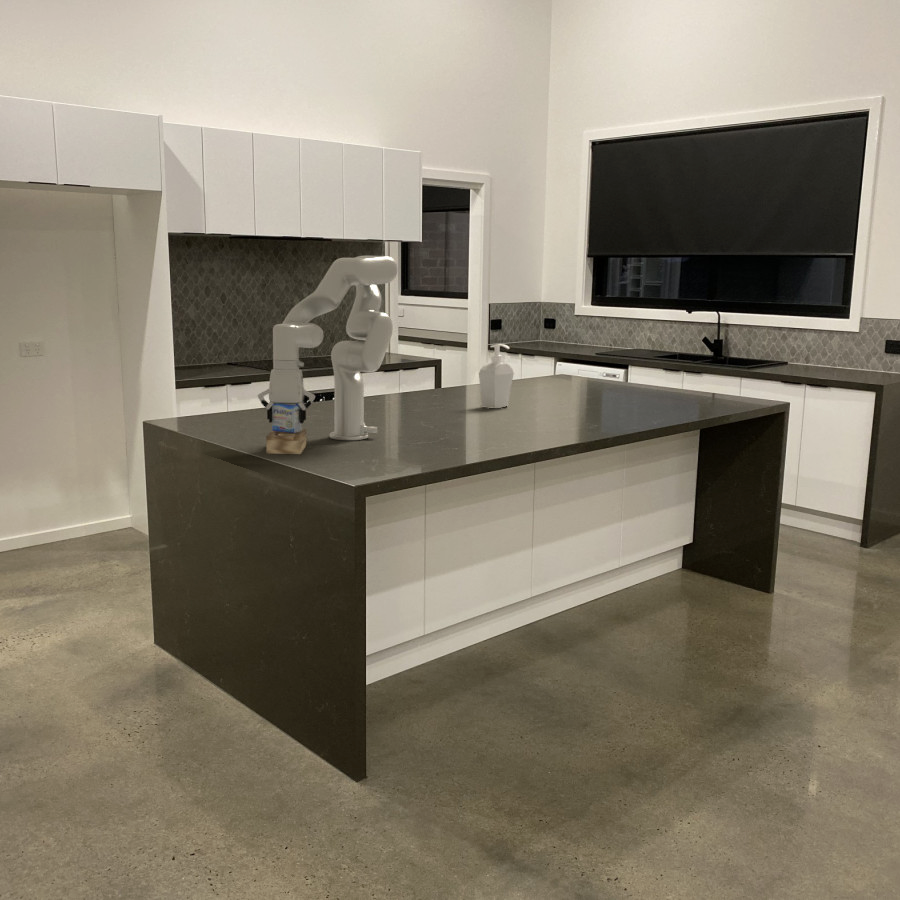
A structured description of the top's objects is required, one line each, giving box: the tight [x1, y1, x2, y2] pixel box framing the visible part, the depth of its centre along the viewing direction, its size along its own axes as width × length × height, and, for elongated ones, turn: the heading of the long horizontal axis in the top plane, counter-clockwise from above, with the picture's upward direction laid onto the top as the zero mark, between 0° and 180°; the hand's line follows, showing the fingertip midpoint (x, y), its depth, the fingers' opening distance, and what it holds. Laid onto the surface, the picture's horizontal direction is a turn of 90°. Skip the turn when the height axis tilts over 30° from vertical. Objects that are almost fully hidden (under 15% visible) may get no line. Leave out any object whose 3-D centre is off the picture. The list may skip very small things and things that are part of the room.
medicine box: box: [271, 403, 302, 433], centre depth 275 cm, size 8×4×9 cm, turn 70°
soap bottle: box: [478, 343, 514, 408], centre depth 368 cm, size 12×10×26 cm
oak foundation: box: [265, 428, 307, 455], centre depth 276 cm, size 10×13×5 cm
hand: (286, 422), depth 275 cm, fingers closed on medicine box, 9 cm apart
